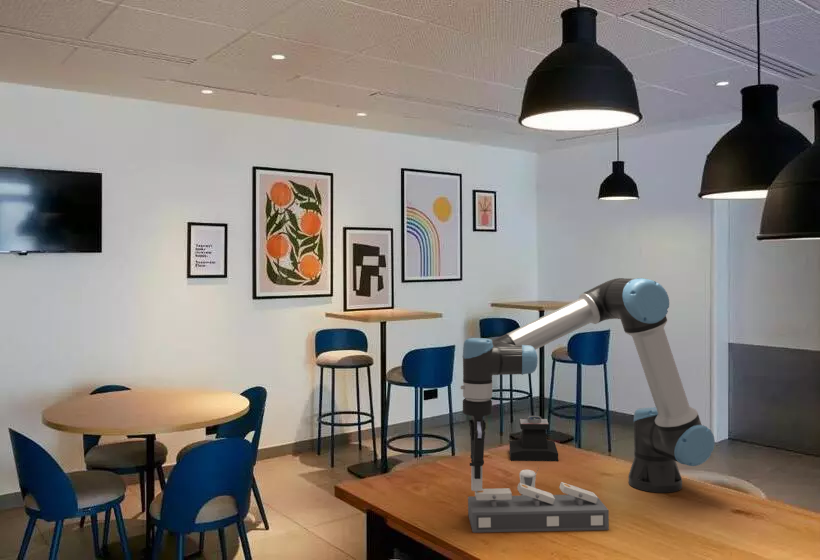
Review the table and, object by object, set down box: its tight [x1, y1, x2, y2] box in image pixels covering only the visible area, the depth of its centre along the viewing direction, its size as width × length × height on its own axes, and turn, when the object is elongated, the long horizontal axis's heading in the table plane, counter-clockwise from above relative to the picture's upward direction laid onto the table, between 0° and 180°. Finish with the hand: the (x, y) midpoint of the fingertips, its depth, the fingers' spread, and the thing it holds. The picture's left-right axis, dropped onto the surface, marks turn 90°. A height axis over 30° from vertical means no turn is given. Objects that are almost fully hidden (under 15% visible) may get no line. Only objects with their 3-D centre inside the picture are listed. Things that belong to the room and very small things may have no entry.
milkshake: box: [519, 467, 539, 496], centre depth 191 cm, size 4×5×10 cm
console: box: [467, 493, 610, 533], centre depth 177 cm, size 34×12×6 cm, turn 90°
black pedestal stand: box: [509, 415, 559, 462], centre depth 239 cm, size 16×14×15 cm
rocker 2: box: [559, 481, 599, 503], centre depth 177 cm, size 9×5×2 cm, turn 91°
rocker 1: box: [474, 487, 513, 500], centre depth 177 cm, size 9×5×2 cm, turn 90°
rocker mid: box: [516, 482, 555, 504], centre depth 177 cm, size 9×5×2 cm, turn 91°
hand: (476, 489), depth 177 cm, fingers closed
